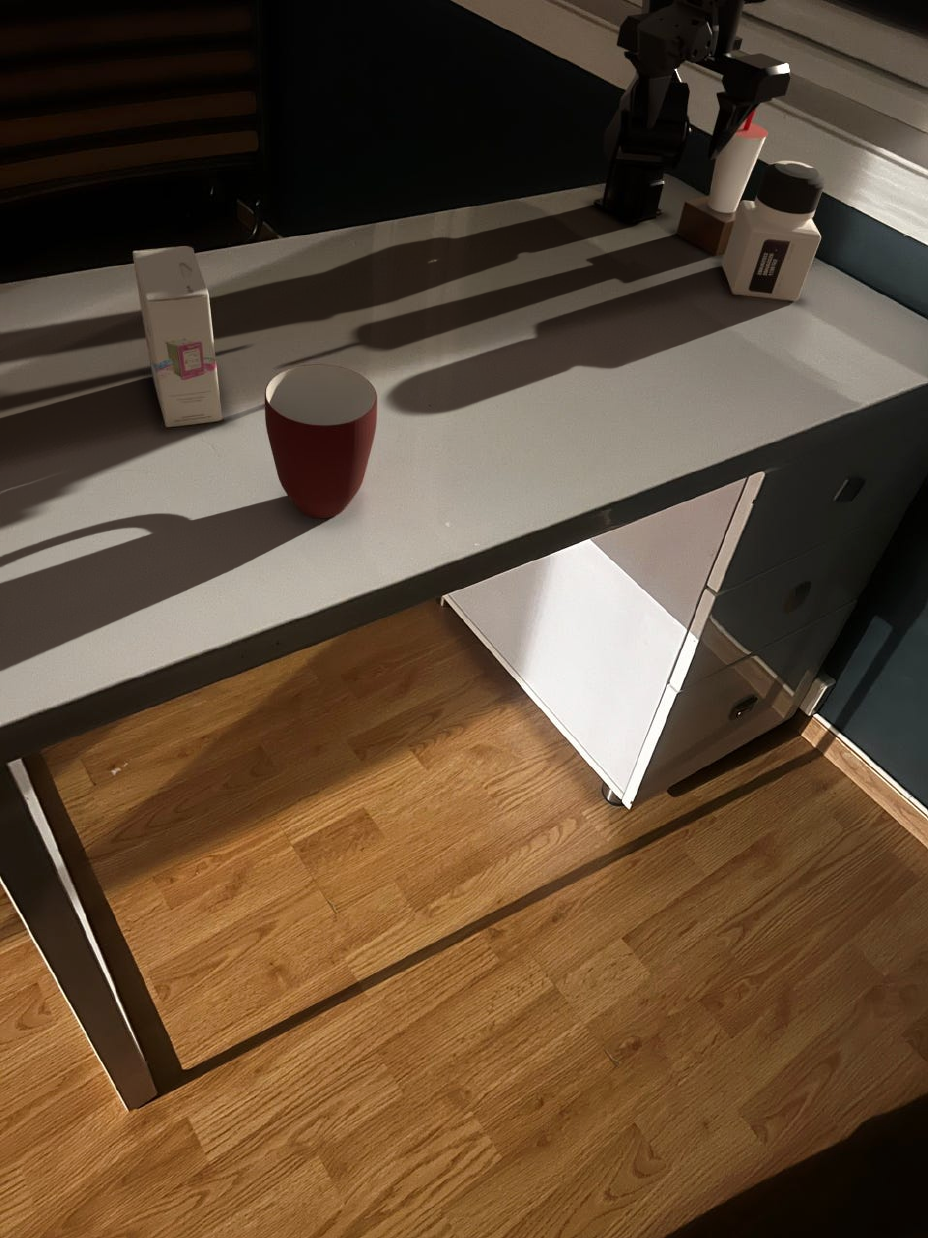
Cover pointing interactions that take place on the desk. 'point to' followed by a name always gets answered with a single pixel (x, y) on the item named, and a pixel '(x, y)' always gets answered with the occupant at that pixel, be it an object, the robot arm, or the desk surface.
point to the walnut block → (706, 225)
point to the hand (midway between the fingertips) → (679, 143)
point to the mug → (320, 434)
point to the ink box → (178, 334)
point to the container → (775, 234)
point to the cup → (735, 166)
